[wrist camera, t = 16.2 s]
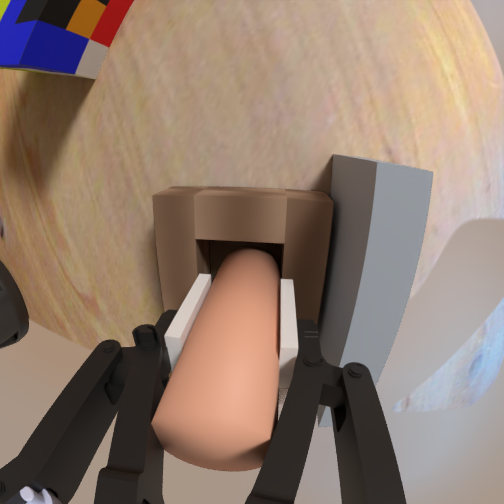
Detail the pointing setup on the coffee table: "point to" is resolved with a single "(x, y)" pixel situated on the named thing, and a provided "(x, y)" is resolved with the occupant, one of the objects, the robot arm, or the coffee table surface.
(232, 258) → the dowel
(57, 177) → the coffee table surface
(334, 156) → the board
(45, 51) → the puzzle toy
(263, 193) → the block
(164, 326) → the robot arm
